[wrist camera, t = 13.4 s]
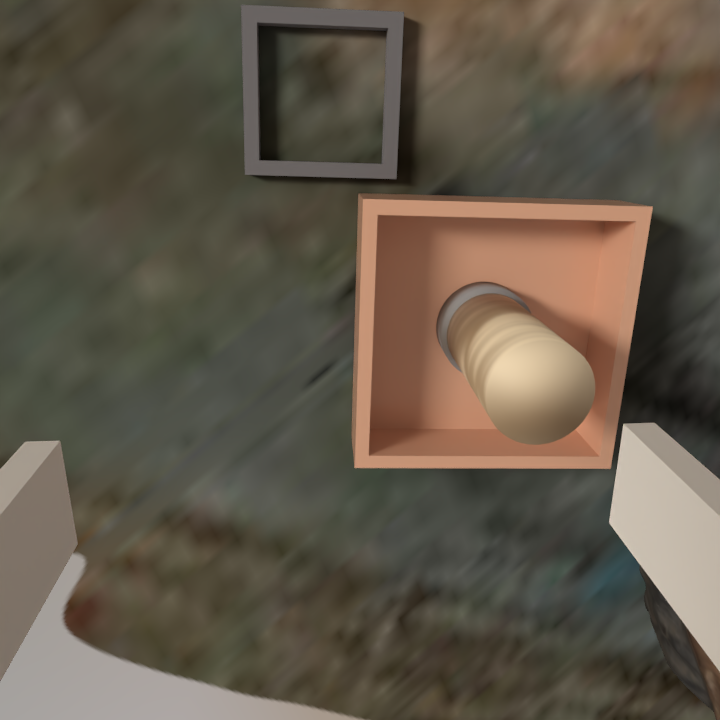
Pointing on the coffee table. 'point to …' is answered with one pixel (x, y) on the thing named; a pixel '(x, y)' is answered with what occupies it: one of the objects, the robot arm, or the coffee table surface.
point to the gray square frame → (327, 20)
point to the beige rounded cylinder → (515, 364)
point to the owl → (682, 649)
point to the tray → (518, 274)
